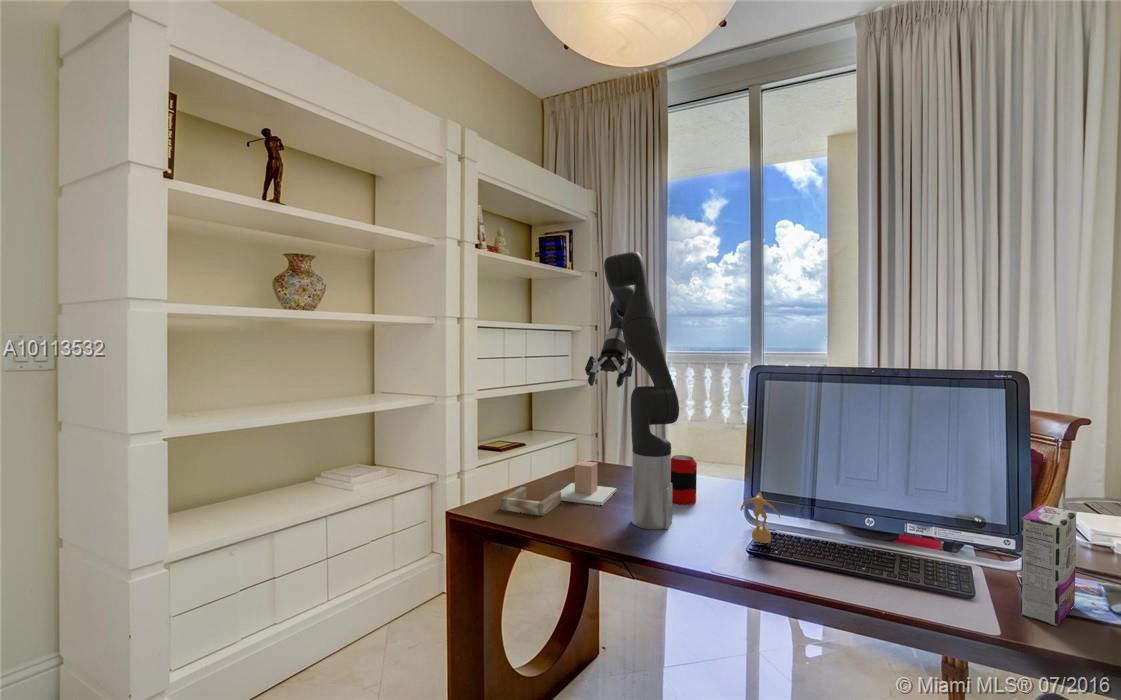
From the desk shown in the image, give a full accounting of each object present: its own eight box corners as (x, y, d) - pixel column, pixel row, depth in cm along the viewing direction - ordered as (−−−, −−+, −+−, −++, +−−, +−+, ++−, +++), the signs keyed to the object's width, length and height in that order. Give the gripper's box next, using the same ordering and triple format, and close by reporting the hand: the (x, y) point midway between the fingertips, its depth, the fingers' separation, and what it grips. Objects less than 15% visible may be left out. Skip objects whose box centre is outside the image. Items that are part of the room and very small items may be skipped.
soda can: (695, 506, 143) (696, 461, 143) (667, 503, 145) (667, 459, 145) (696, 497, 151) (696, 455, 150) (668, 495, 153) (669, 453, 152)
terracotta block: (597, 490, 154) (597, 462, 154) (591, 495, 149) (591, 466, 149) (580, 488, 156) (581, 460, 156) (574, 492, 151) (574, 464, 151)
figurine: (783, 547, 116) (784, 492, 116) (776, 556, 111) (777, 498, 111) (745, 538, 121) (746, 485, 121) (736, 546, 116) (737, 491, 116)
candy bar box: (1036, 595, 95) (1039, 503, 95) (1075, 607, 91) (1078, 511, 90) (1017, 614, 88) (1020, 516, 88) (1057, 628, 84) (1061, 525, 84)
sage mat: (616, 491, 156) (616, 488, 156) (601, 505, 143) (601, 502, 143) (571, 486, 161) (571, 482, 161) (553, 499, 148) (553, 495, 148)
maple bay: (560, 502, 146) (560, 491, 145) (543, 515, 135) (543, 504, 135) (521, 497, 150) (521, 486, 150) (501, 509, 139) (501, 498, 139)
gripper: (591, 337, 170) (578, 375, 160) (635, 337, 165) (625, 377, 155) (596, 353, 176) (584, 391, 165) (639, 354, 170) (629, 394, 160)
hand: (604, 384), depth 160 cm, fingers open, 8 cm apart
